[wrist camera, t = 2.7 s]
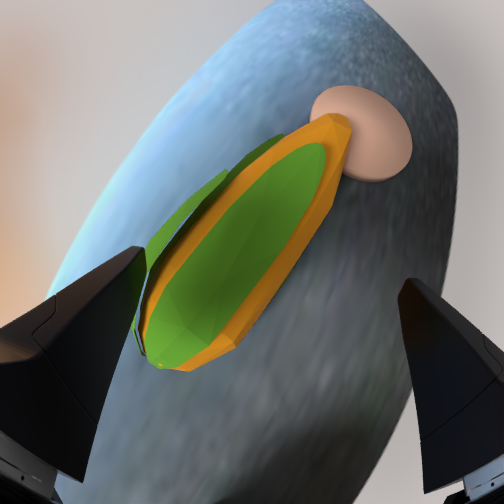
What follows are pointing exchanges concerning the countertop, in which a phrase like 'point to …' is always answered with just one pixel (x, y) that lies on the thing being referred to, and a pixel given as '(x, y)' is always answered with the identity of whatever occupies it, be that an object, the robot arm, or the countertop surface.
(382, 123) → the pink flat disc
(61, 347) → the robot arm
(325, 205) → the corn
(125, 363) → the countertop surface
